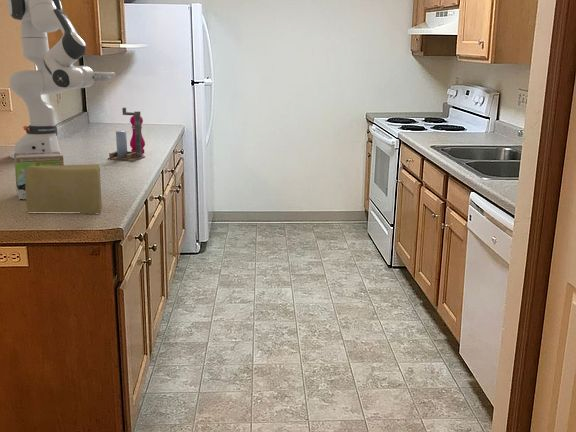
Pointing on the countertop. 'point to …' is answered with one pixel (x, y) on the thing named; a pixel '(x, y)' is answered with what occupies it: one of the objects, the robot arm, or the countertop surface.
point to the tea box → (33, 160)
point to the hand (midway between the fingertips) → (101, 75)
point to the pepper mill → (132, 141)
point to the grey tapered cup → (121, 144)
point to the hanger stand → (138, 154)
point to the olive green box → (63, 188)
